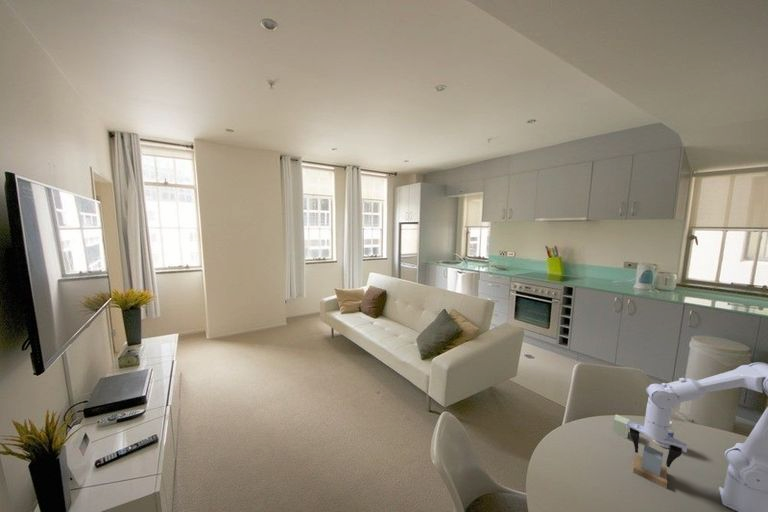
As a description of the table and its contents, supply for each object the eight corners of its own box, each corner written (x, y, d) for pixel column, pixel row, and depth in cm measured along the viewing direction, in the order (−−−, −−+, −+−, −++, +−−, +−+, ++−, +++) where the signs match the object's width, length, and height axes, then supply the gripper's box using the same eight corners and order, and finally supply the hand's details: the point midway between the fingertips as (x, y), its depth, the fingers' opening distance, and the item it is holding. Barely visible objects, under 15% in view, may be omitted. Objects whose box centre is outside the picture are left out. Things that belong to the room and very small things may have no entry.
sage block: (628, 433, 112) (629, 419, 111) (627, 439, 109) (628, 425, 108) (613, 427, 115) (615, 414, 115) (612, 432, 112) (614, 419, 111)
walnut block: (665, 474, 94) (666, 467, 94) (666, 490, 88) (667, 483, 88) (634, 460, 100) (635, 453, 99) (632, 474, 94) (633, 467, 94)
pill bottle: (675, 450, 104) (679, 426, 103) (659, 447, 105) (662, 424, 104) (664, 439, 109) (667, 416, 108) (648, 436, 110) (651, 414, 109)
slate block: (660, 469, 93) (663, 452, 93) (659, 476, 90) (662, 459, 90) (642, 460, 97) (644, 444, 96) (641, 467, 94) (643, 451, 93)
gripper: (688, 426, 89) (682, 464, 91) (629, 405, 100) (624, 439, 101) (690, 437, 84) (683, 477, 86) (627, 414, 95) (622, 450, 96)
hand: (651, 458), depth 93 cm, fingers open, 7 cm apart
